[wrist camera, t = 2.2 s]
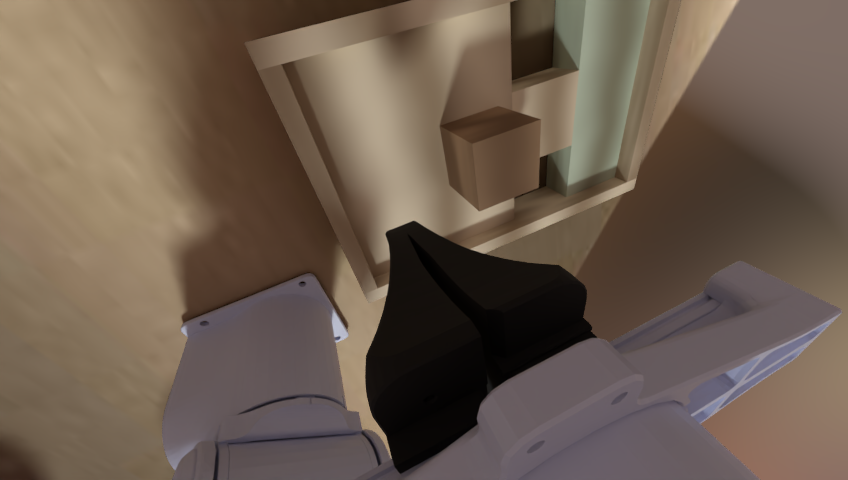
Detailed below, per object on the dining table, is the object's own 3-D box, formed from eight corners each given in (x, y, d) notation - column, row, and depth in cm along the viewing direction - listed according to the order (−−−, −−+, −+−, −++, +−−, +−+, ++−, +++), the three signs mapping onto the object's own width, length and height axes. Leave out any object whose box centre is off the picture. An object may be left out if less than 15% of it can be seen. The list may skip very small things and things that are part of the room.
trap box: (358, 272, 25) (368, 303, 22) (251, 41, 15) (243, 42, 12) (598, 173, 29) (633, 188, 26) (636, -56, 19) (699, -73, 16)
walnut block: (449, 185, 20) (479, 211, 17) (439, 125, 18) (472, 144, 15) (501, 165, 21) (538, 187, 18) (498, 105, 19) (541, 119, 16)
